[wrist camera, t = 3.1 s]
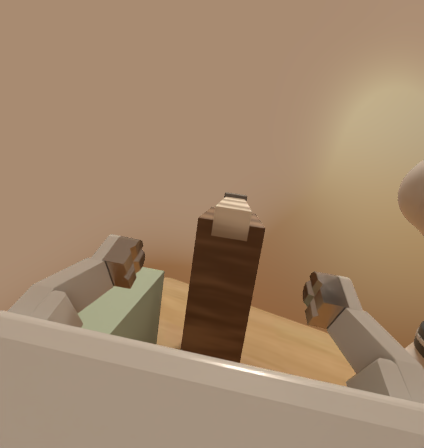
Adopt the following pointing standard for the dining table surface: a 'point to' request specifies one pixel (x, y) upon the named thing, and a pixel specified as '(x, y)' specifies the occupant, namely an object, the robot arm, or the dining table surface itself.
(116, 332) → the box
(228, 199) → the baton
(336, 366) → the dining table surface
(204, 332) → the brown wooden block
